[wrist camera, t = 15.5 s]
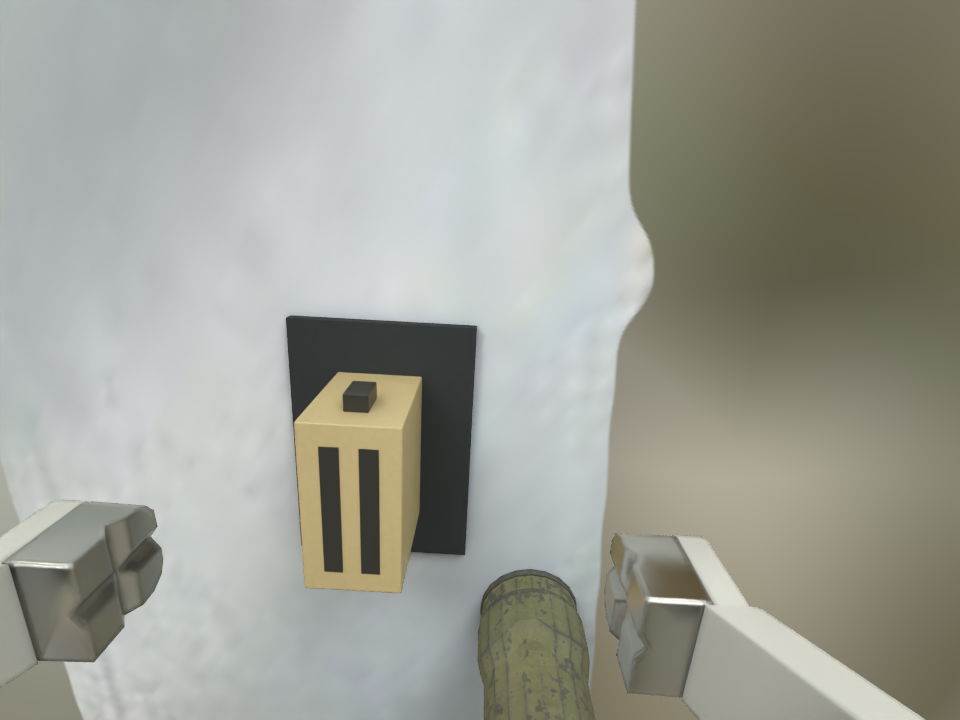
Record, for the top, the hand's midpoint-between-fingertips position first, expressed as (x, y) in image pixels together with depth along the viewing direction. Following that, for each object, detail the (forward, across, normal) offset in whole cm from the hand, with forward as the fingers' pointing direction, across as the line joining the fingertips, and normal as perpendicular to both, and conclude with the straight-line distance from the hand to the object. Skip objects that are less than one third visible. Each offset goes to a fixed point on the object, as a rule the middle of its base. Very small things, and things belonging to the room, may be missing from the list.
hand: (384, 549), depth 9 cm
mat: (+29, -6, -13) cm, 32 cm away
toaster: (+28, -6, -13) cm, 31 cm away
